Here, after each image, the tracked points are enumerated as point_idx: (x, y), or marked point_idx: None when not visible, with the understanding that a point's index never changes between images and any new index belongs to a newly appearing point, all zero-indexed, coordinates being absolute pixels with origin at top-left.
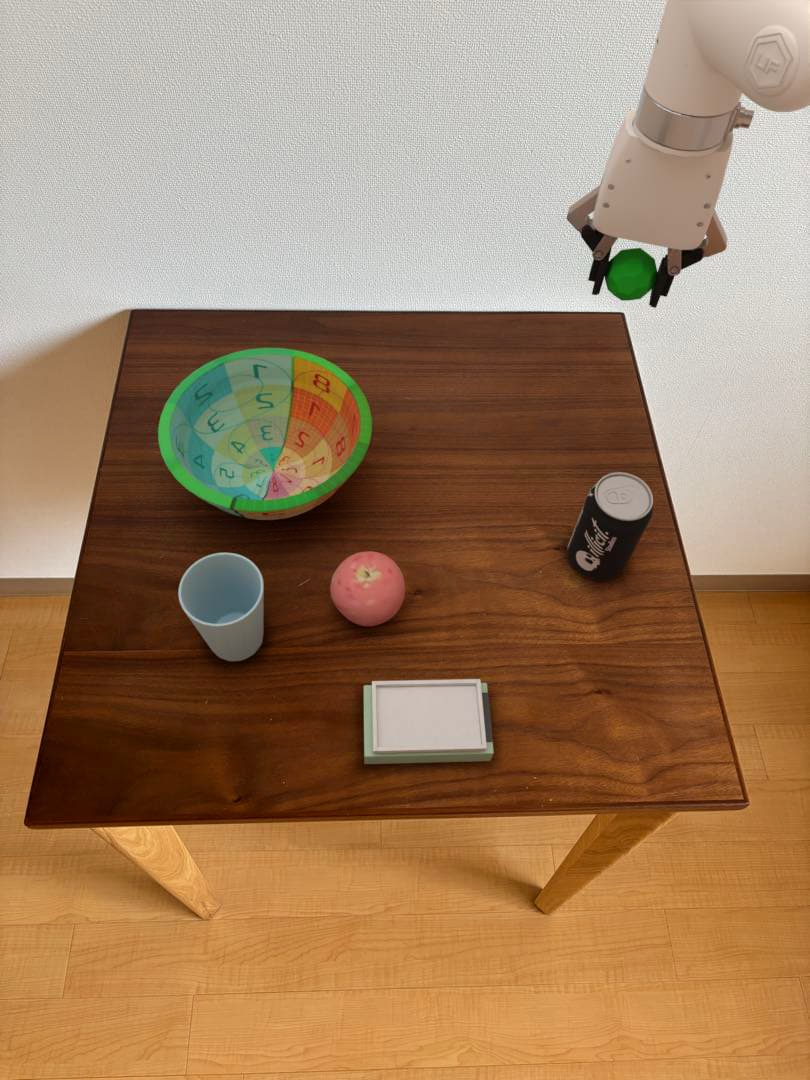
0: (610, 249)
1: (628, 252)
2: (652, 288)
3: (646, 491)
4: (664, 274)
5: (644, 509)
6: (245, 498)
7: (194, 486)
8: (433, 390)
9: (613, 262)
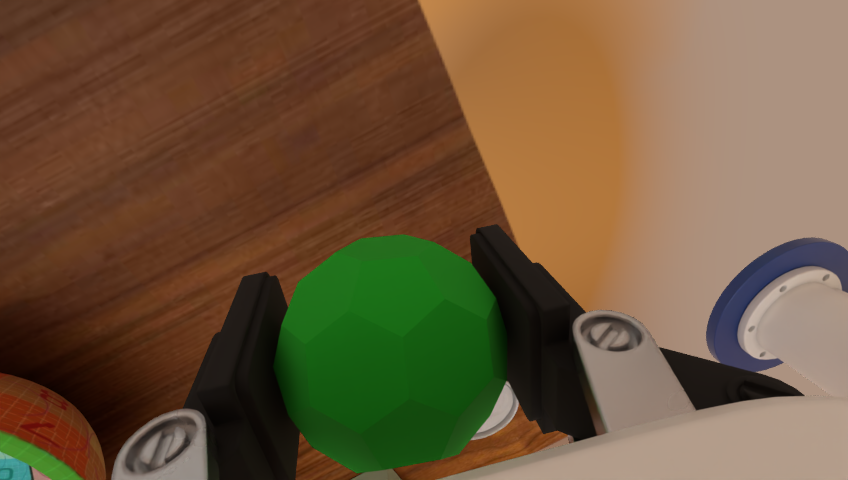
0: (253, 411)
1: (360, 445)
2: (477, 266)
3: (506, 385)
4: (551, 425)
5: (508, 408)
6: (7, 476)
7: None
8: (73, 165)
9: (308, 439)
